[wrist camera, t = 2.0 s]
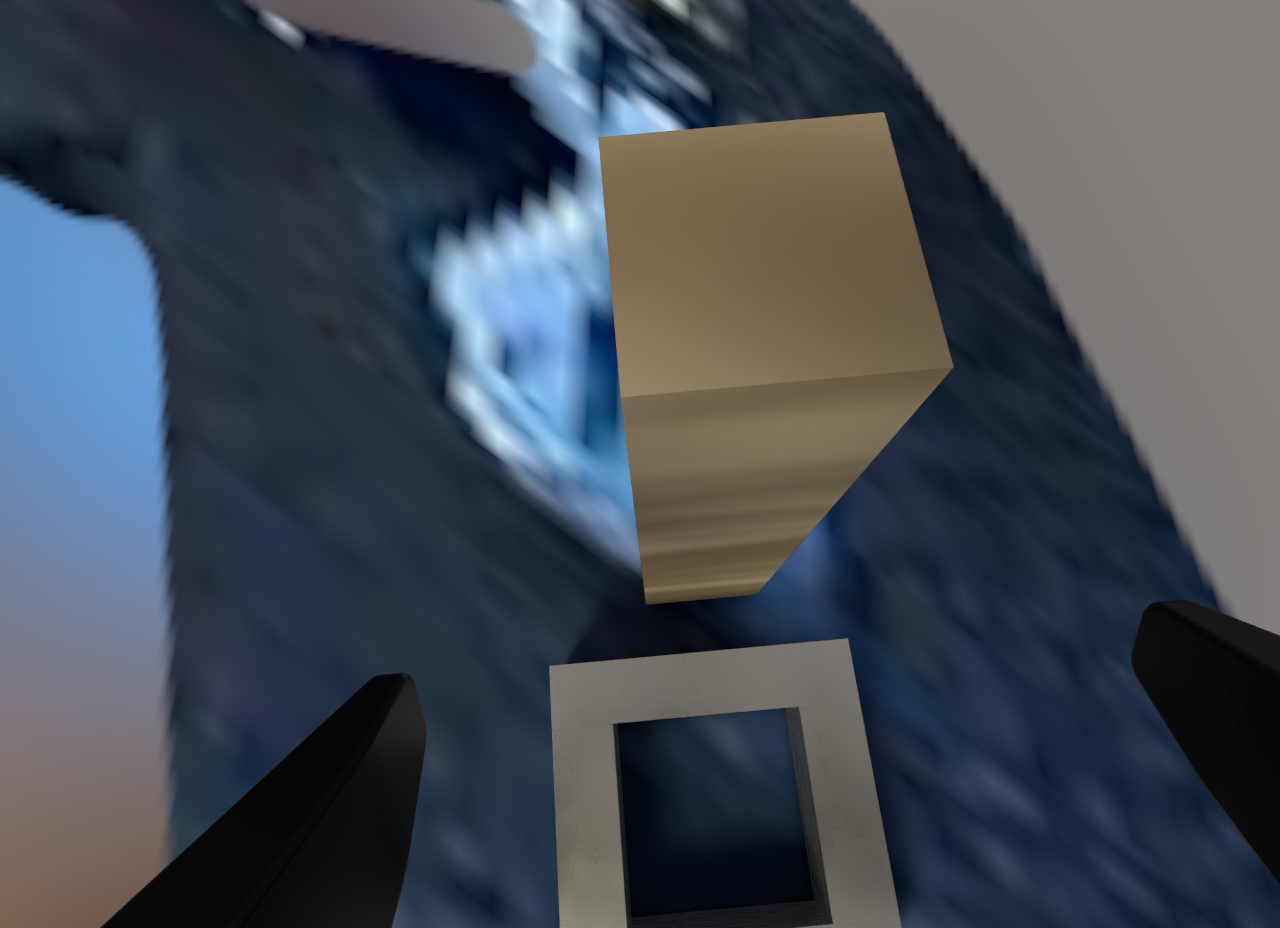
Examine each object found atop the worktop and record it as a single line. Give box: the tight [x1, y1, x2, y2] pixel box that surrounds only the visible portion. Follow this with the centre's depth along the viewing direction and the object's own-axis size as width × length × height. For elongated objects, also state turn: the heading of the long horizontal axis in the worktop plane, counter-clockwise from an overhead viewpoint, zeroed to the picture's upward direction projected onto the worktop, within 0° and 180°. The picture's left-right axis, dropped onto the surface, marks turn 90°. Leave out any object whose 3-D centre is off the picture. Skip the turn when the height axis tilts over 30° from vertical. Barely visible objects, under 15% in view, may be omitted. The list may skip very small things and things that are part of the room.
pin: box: [599, 112, 953, 605], centre depth 14 cm, size 3×3×14 cm
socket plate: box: [549, 638, 902, 928], centre depth 17 cm, size 8×8×2 cm
